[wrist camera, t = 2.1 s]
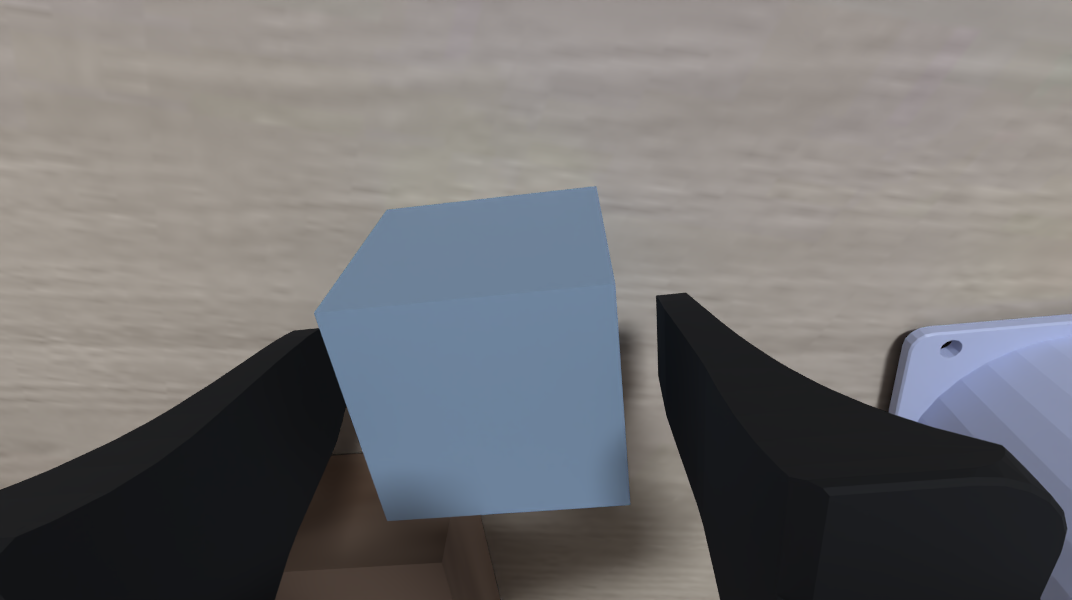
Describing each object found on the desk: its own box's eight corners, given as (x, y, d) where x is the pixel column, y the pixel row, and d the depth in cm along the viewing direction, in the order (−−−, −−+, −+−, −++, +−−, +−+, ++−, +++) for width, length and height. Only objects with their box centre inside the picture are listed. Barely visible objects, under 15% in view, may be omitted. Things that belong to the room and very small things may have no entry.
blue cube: (596, 185, 14) (615, 283, 9) (609, 361, 16) (630, 505, 12) (387, 208, 14) (313, 312, 10) (431, 376, 17) (387, 521, 12)
